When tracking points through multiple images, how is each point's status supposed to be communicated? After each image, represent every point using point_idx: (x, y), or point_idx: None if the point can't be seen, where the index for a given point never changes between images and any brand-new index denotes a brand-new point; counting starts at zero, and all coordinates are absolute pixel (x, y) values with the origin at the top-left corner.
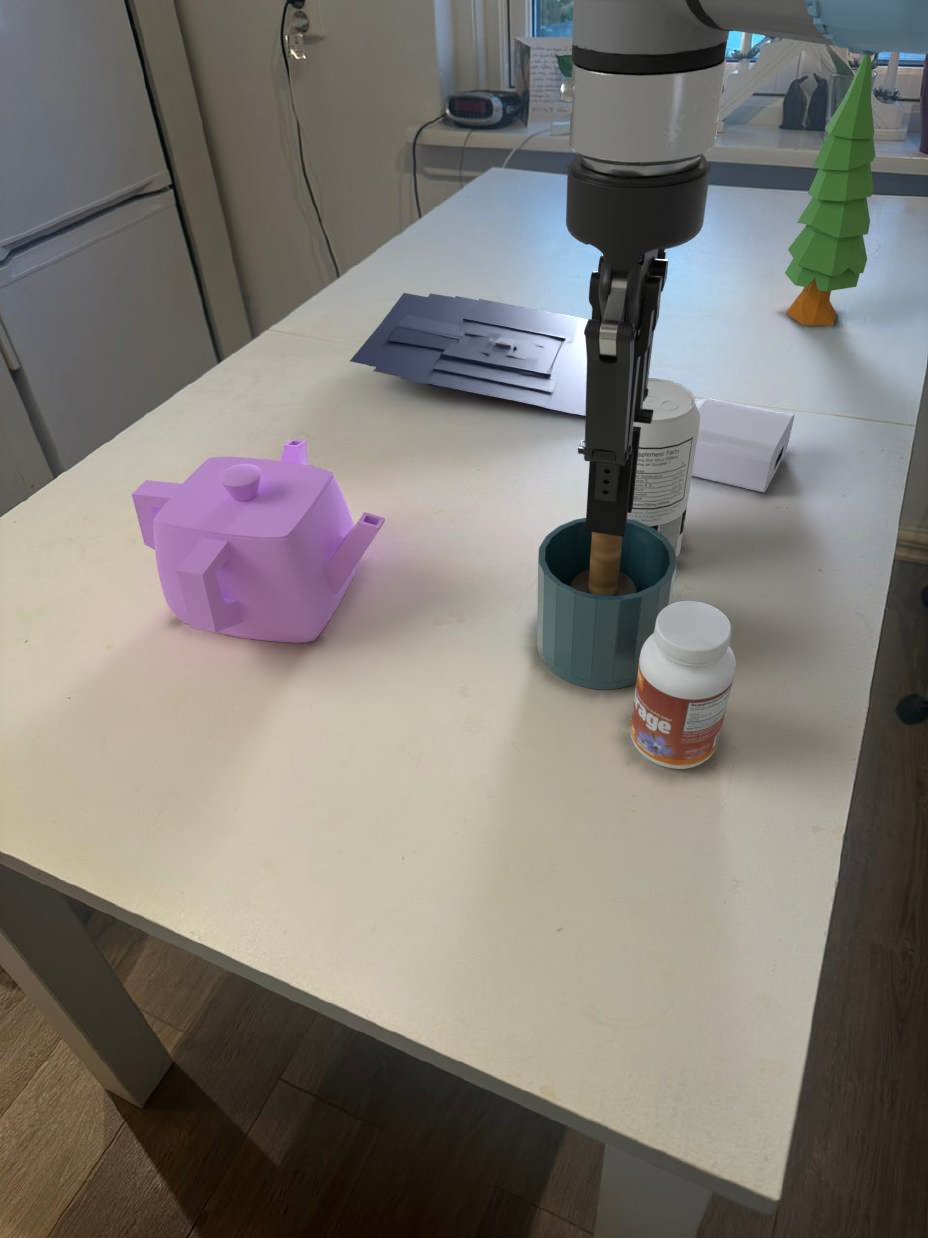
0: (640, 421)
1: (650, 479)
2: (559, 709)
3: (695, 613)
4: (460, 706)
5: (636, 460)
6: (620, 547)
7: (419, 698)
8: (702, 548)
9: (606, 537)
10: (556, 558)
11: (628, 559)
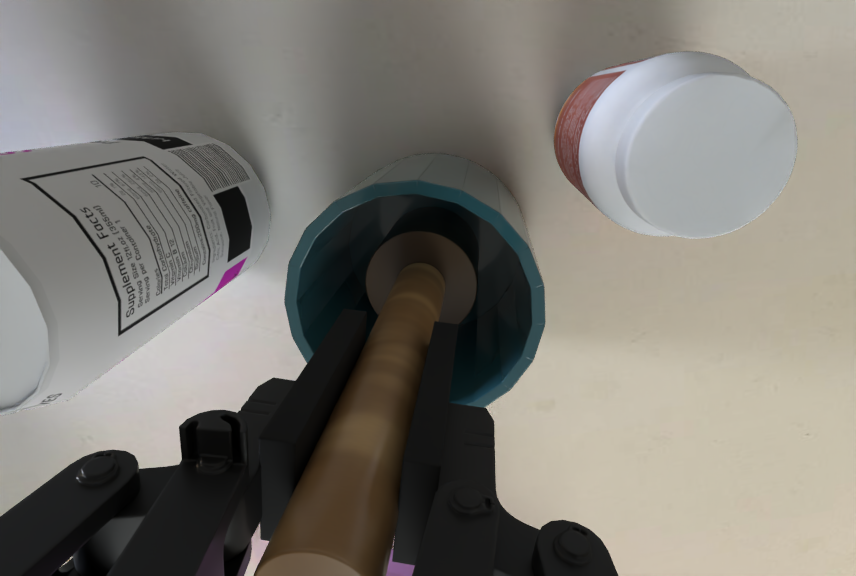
0: (248, 453)
1: (163, 248)
2: (568, 291)
3: (671, 156)
4: (572, 406)
5: (324, 383)
6: (417, 302)
7: (561, 450)
8: (167, 91)
9: None
10: None
11: (327, 245)
